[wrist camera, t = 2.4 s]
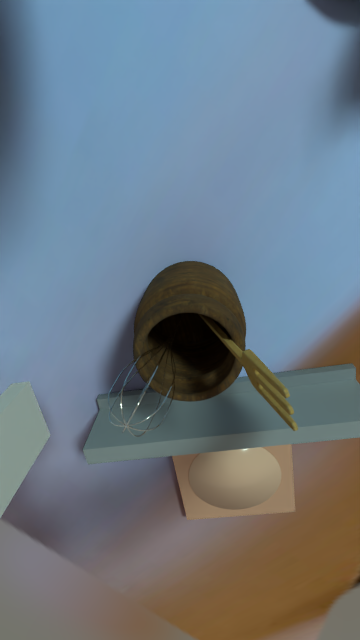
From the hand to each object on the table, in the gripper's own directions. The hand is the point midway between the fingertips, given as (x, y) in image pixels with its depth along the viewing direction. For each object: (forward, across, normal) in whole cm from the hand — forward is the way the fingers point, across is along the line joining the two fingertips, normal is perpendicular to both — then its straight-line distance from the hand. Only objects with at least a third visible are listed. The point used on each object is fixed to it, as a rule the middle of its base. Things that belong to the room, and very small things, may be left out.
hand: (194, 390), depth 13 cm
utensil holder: (+9, 0, +1) cm, 9 cm away
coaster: (+9, +1, -14) cm, 17 cm away
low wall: (+9, +1, -7) cm, 11 cm away
